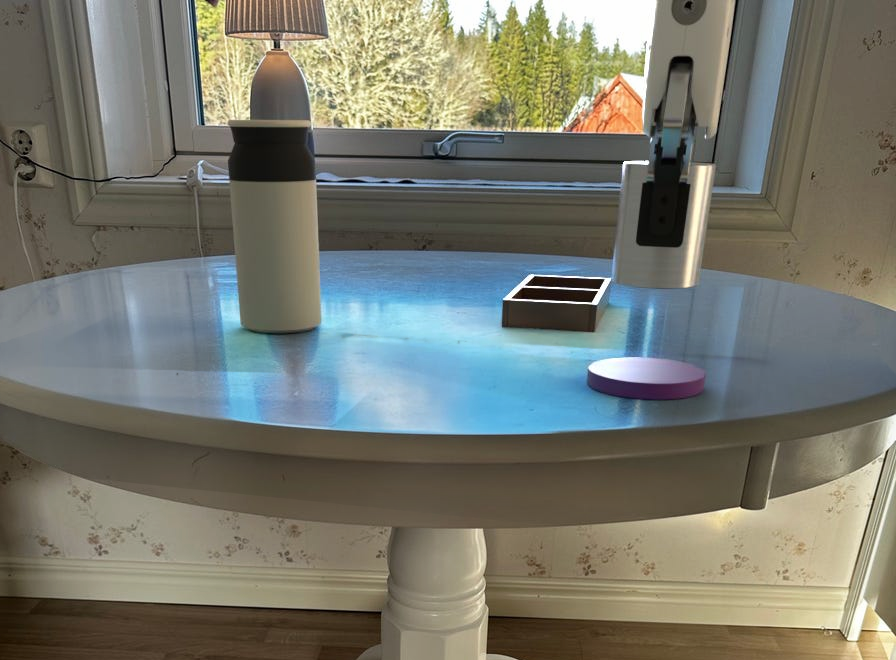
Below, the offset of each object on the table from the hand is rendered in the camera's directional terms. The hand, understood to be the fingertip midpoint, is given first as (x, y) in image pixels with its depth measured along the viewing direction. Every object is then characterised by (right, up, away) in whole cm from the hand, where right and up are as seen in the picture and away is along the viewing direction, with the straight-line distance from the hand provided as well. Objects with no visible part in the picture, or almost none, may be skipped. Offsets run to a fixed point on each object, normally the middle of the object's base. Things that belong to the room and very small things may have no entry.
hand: (660, 238), depth 70 cm
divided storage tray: (-3, +4, +29) cm, 30 cm away
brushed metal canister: (0, -3, +1) cm, 3 cm away
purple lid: (0, -9, +5) cm, 11 cm away
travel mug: (-31, +2, +25) cm, 40 cm away
